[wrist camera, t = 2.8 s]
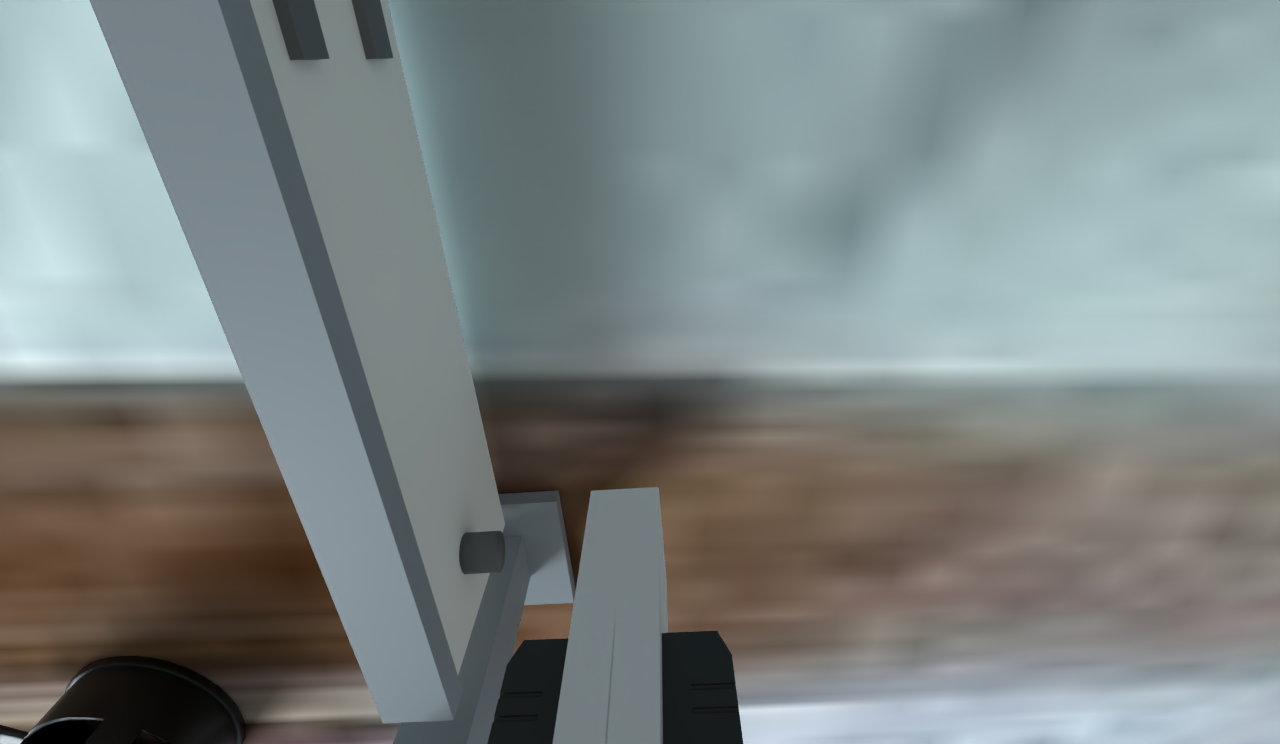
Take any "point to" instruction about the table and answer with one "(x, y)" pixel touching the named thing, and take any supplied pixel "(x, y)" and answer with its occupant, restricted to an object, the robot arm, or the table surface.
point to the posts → (504, 614)
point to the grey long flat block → (331, 306)
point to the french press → (136, 707)
